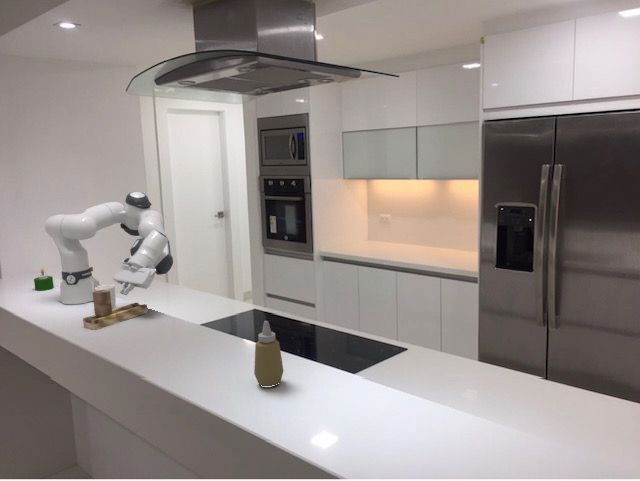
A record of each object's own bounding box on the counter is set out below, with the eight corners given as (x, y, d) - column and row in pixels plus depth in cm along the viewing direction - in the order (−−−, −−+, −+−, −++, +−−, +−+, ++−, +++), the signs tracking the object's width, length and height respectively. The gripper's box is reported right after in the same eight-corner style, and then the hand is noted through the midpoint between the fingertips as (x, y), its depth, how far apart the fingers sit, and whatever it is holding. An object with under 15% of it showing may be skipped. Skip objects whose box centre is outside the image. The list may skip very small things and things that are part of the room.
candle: (38, 287, 274) (35, 268, 272) (55, 286, 276) (53, 266, 274) (32, 291, 266) (30, 271, 264) (51, 290, 268) (48, 270, 266)
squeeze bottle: (251, 390, 147) (247, 326, 144) (258, 377, 155) (255, 316, 152) (280, 390, 146) (277, 326, 143) (286, 378, 154) (283, 316, 151)
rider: (105, 315, 213) (102, 289, 212) (112, 317, 211) (109, 290, 209) (95, 318, 210) (92, 292, 208) (102, 320, 207) (99, 293, 205)
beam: (136, 310, 227) (136, 302, 226) (147, 312, 223) (146, 304, 222) (83, 327, 207) (82, 318, 207) (94, 330, 203) (93, 321, 203)
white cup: (104, 313, 224) (101, 290, 222) (93, 310, 229) (90, 287, 227) (121, 308, 230) (118, 285, 229) (110, 306, 235) (108, 283, 233)
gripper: (162, 271, 219) (144, 301, 212) (131, 267, 230) (113, 295, 224) (152, 263, 214) (133, 293, 208) (121, 258, 226) (102, 286, 220)
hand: (123, 294), depth 216 cm, fingers closed
